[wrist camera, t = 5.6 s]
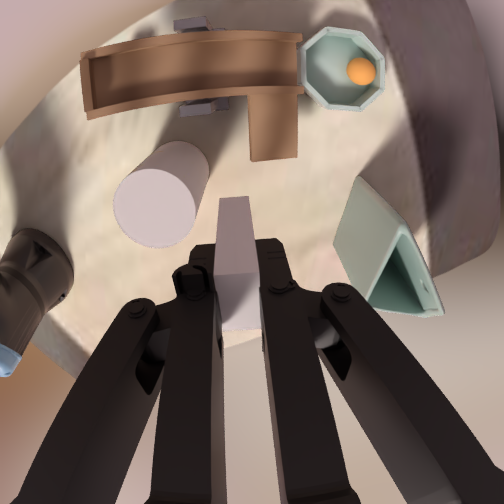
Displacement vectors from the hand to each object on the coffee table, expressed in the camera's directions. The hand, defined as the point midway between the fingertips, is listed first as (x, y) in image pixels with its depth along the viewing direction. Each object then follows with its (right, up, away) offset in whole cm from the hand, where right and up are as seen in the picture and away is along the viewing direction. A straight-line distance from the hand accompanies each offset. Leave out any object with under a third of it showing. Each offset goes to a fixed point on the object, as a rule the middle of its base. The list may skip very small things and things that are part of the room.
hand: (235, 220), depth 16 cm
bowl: (+11, +20, +13) cm, 27 cm away
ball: (+13, +19, +11) cm, 26 cm away
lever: (-4, +12, +9) cm, 16 cm away
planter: (+16, +1, +26) cm, 31 cm away
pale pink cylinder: (-9, +9, +20) cm, 24 cm away
